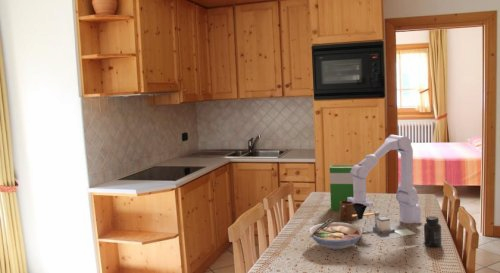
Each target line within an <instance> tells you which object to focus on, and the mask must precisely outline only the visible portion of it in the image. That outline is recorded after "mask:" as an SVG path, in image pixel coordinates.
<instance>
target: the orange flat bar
mask: <svg viewBox="0 0 500 273" xmlns="http://www.w3.org/2000/svg"><path fill="white" fill-rule="evenodd" d="M375 215H379V216H380V211H374V212H369V213H364V214H363V217H365V216H368V217H369V216H375ZM352 217H355V218H358V217H357V214H356V213H355V215H352Z"/></svg>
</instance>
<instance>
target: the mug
mask: <svg viewBox="0 0 500 273" xmlns="http://www.w3.org/2000/svg"><path fill="white" fill-rule="evenodd" d="M354 204H355V203H353V202H348V201H341V202H340V210H339V219H340V221H341V222H342V223H346V222H351V221H356V217H352V215H355V214H356V211H355V209H354V207H353V205H354Z"/></svg>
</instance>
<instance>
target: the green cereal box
mask: <svg viewBox="0 0 500 273" xmlns="http://www.w3.org/2000/svg"><path fill="white" fill-rule="evenodd" d="M354 165H355V164H330V165H329V186H330V187H329V190H330V191H329V193H330V211H340V202H341V201H347V197H354V192H353V176H352V175H351V173H350V171H351V169H352V167H353V166H354Z"/></svg>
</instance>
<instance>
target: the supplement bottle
mask: <svg viewBox="0 0 500 273" xmlns="http://www.w3.org/2000/svg"><path fill="white" fill-rule="evenodd" d="M425 220H426V221H425V224H424V225H423V236H424V237H423V240H424V243H423V244H424V245H425V246H426V247H428V248H440V247H441V246H442V245H443V244H442V242H443V241H442V237H443V236H442V226H441V224H440V222H439V221H440V220H439V217H438V216H433V215H429V216H426V219H425Z"/></svg>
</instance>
